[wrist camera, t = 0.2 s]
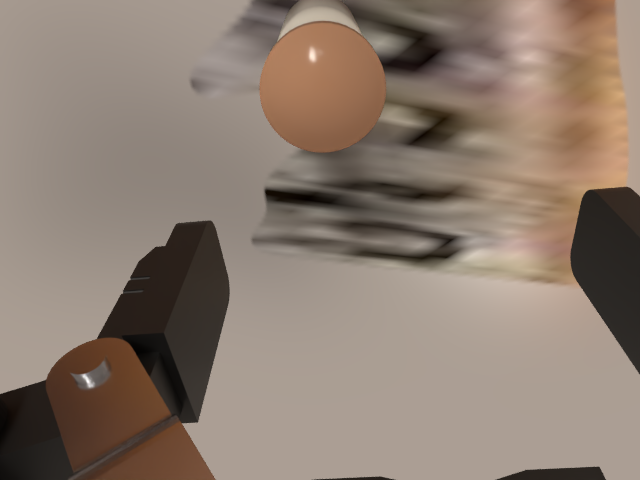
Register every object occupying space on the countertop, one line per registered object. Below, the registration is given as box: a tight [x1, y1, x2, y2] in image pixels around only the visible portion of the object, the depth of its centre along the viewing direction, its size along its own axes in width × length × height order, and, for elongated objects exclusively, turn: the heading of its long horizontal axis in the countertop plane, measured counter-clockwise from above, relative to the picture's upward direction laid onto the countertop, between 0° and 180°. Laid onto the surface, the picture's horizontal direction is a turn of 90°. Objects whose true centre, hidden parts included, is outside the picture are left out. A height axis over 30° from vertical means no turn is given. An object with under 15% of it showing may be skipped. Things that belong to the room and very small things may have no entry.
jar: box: [260, 0, 386, 153], centre depth 29 cm, size 6×6×15 cm
